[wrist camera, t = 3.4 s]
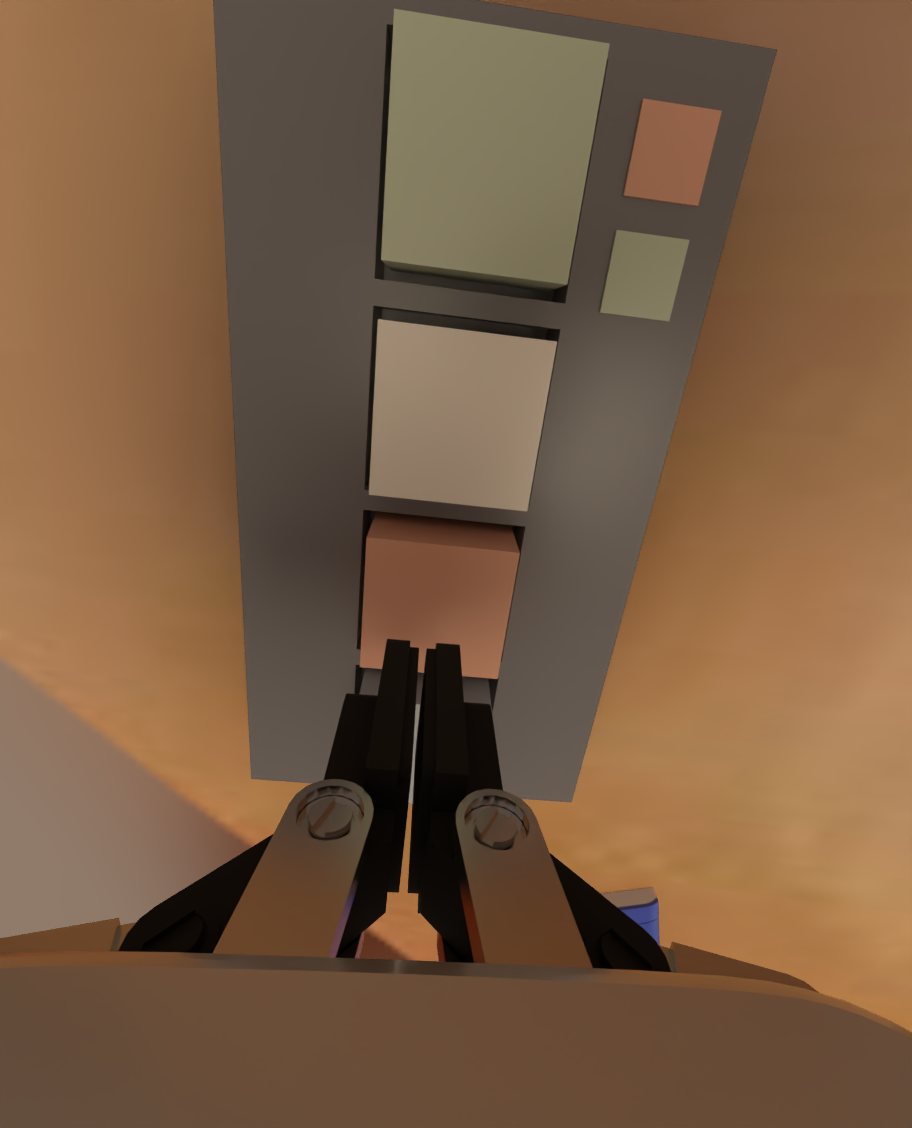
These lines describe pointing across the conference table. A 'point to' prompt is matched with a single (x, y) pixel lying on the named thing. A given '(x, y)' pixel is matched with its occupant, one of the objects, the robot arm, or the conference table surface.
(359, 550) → the grey tray
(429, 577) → the key terracotta
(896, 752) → the conference table surface
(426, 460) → the key cream
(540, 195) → the key sage
